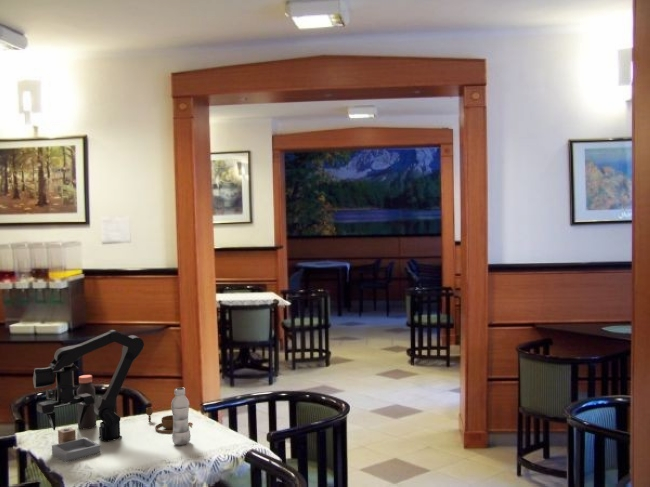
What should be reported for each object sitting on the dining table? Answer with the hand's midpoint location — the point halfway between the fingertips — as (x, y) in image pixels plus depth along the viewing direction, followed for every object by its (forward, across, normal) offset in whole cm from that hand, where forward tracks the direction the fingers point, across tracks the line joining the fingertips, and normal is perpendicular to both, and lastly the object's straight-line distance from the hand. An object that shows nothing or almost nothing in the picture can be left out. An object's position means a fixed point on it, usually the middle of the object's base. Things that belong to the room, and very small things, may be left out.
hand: (66, 426), depth 246 cm
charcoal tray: (+7, +1, +10) cm, 12 cm away
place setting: (+8, -38, +5) cm, 39 cm away
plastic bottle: (+7, -30, +28) cm, 42 cm away
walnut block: (+7, 0, 0) cm, 7 cm away
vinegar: (+7, -15, -17) cm, 24 cm away
